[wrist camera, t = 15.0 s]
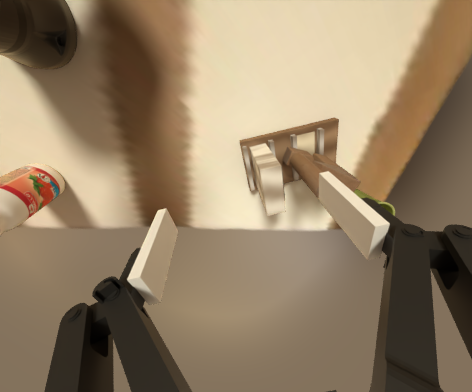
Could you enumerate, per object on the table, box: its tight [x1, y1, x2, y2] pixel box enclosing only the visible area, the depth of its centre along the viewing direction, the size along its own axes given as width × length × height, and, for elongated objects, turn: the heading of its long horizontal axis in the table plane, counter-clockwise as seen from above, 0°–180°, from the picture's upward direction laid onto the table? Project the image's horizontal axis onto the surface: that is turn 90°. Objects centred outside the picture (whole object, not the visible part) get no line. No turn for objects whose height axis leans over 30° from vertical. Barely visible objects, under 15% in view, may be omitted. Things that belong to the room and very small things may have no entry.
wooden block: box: [282, 147, 360, 198], centre depth 41 cm, size 4×11×18 cm, turn 75°
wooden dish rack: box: [240, 118, 339, 216], centre depth 45 cm, size 14×24×16 cm, turn 102°
